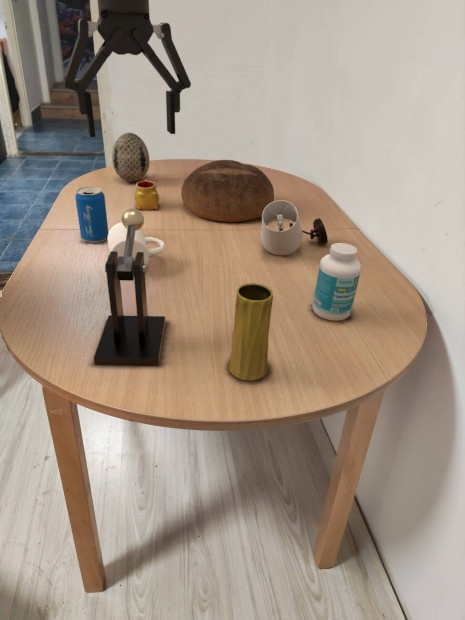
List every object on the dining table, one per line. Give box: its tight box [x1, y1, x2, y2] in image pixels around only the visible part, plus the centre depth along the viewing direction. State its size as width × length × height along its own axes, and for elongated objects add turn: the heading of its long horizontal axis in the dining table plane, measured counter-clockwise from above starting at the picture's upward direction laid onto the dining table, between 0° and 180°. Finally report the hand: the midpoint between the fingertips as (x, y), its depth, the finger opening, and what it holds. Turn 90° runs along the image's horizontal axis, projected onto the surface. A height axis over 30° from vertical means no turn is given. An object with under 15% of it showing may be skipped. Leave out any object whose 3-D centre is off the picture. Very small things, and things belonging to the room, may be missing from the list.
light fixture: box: [260, 199, 329, 256], centre depth 108 cm, size 10×16×17 cm
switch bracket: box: [93, 251, 166, 366], centre depth 72 cm, size 12×10×16 cm
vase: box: [228, 282, 274, 382], centre depth 68 cm, size 6×6×14 cm
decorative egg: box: [111, 132, 150, 183], centre depth 145 cm, size 12×12×15 cm
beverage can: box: [74, 186, 109, 244], centre depth 107 cm, size 6×6×12 cm
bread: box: [180, 159, 275, 223], centre depth 129 cm, size 26×27×13 cm
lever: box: [116, 208, 145, 282], centre depth 72 cm, size 13×4×4 cm, turn 2°
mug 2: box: [134, 179, 160, 211], centre depth 130 cm, size 12×7×7 cm, turn 5°
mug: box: [106, 221, 166, 266], centre depth 98 cm, size 12×10×8 cm
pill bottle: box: [311, 242, 362, 322], centre depth 84 cm, size 8×7×14 cm
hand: (132, 134), depth 78 cm, fingers open, 13 cm apart
